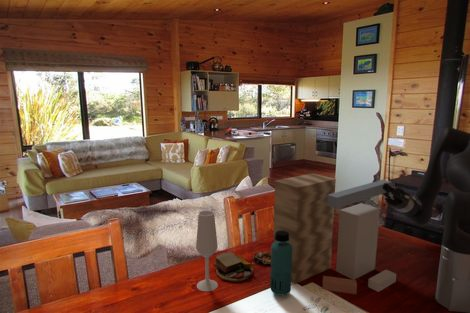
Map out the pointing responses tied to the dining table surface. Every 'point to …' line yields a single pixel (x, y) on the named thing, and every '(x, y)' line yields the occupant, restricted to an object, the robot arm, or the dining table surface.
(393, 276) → the beige rectangular block
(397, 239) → the dining table surface
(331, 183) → the oak stand
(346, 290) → the brown rectangular block
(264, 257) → the pastry
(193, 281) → the dining table surface
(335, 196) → the gray bar
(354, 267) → the cream stand
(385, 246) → the dining table surface
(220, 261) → the toy sandwich meal
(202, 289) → the champagne flute
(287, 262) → the beverage bottle
